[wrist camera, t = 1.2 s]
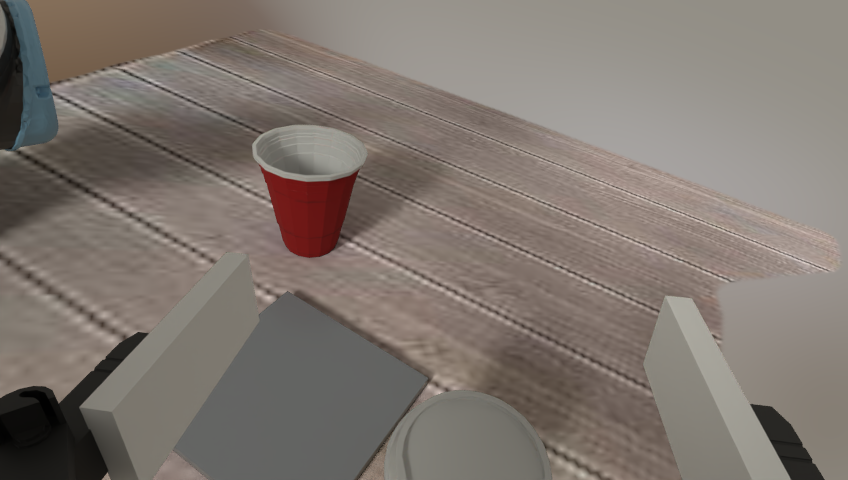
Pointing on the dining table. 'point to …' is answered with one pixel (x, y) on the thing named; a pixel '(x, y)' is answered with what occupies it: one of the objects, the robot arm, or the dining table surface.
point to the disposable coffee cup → (465, 441)
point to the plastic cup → (309, 182)
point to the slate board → (300, 402)
